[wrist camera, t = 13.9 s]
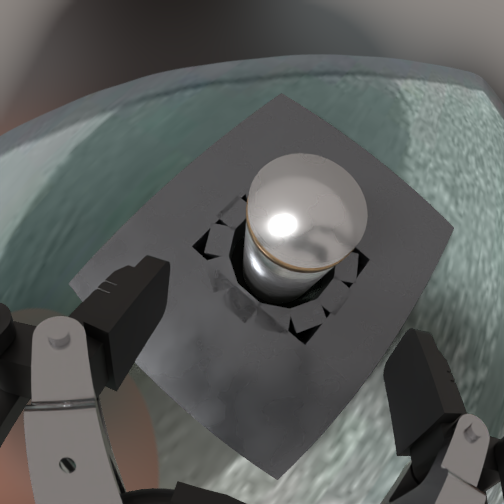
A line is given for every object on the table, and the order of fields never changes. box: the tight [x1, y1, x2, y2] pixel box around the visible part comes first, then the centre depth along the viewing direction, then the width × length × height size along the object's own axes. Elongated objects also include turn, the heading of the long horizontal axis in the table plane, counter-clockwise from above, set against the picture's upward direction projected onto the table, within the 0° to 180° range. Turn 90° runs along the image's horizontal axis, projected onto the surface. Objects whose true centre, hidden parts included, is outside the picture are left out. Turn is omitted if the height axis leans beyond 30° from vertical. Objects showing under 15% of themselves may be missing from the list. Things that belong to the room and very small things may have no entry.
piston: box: [243, 153, 368, 304], centre depth 17 cm, size 5×5×10 cm
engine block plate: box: [69, 93, 454, 480], centre depth 20 cm, size 22×18×3 cm
